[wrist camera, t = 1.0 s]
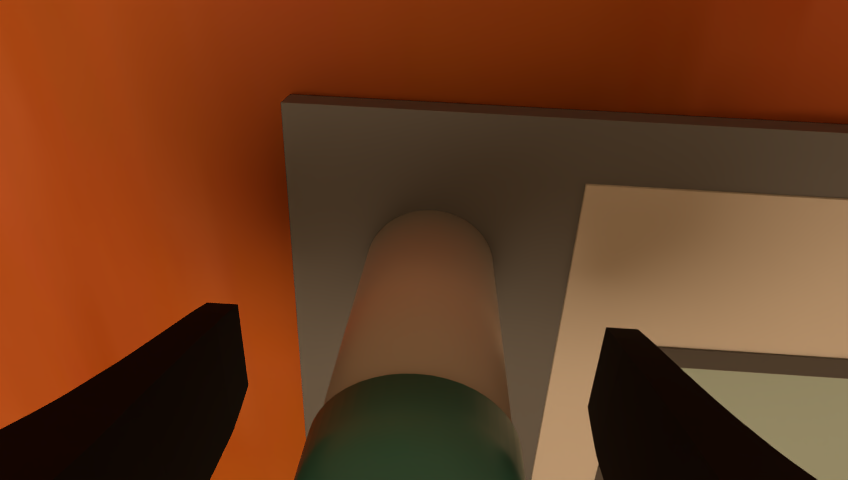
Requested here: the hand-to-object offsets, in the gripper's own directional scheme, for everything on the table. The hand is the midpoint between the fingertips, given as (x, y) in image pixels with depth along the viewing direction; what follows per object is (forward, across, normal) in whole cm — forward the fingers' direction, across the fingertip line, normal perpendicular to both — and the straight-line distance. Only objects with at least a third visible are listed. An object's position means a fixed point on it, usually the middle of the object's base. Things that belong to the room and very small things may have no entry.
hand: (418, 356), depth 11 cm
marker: (+3, 0, 0) cm, 4 cm away
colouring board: (+4, -7, +5) cm, 9 cm away
